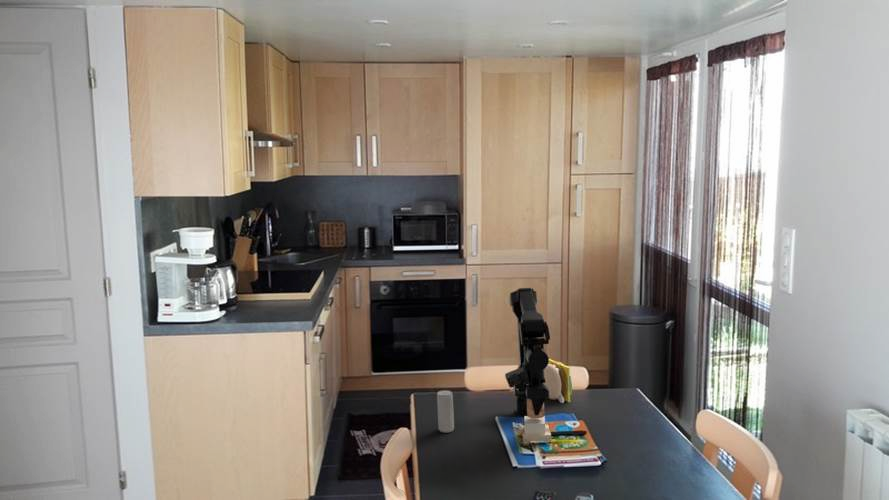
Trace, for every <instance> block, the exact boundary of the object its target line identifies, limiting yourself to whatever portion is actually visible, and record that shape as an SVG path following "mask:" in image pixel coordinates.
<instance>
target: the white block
mask: <svg viewBox="0 0 889 500" xmlns="http://www.w3.org/2000/svg"><path fill="white" fill-rule="evenodd" d="M523 422H524V427H525V434H542V433H545V425H546V416H545V415H544V417H542V418H530V417H528V416H526V415H524V421H523Z"/></svg>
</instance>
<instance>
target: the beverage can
mask: <svg viewBox="0 0 889 500" xmlns="http://www.w3.org/2000/svg"><path fill="white" fill-rule="evenodd" d="M436 403H437V404H436V405H437V422H438V423H437V424H438V430H439V432H440V433H444V434H446V433H451V432H453V431H454V430H455V418H454V417H455V416H454V415H455V414H454V395H453V392H452V391H451V390H445V389H444V390H443V389H442V390H440V391H438V392H437V394H436Z"/></svg>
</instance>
